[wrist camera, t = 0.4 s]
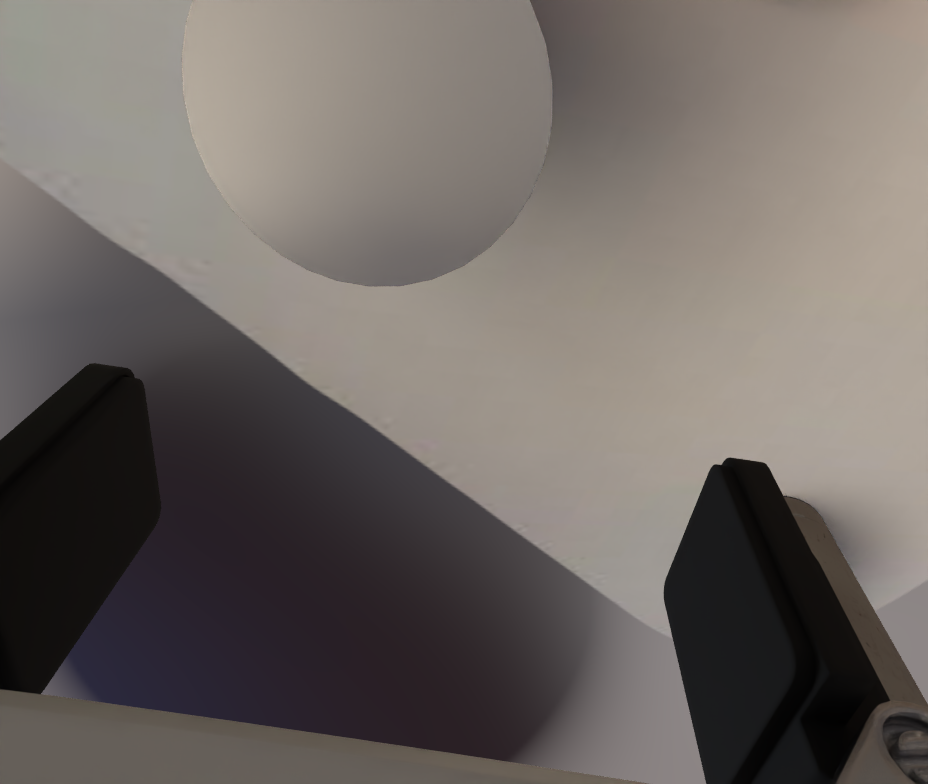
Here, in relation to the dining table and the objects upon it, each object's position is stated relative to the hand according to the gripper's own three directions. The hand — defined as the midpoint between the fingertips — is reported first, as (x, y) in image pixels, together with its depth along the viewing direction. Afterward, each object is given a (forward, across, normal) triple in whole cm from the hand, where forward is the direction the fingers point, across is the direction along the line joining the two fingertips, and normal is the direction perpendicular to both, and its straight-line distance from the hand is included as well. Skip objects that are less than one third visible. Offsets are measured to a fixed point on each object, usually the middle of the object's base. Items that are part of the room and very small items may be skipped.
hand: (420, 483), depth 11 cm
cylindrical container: (+30, +2, -5) cm, 31 cm away
